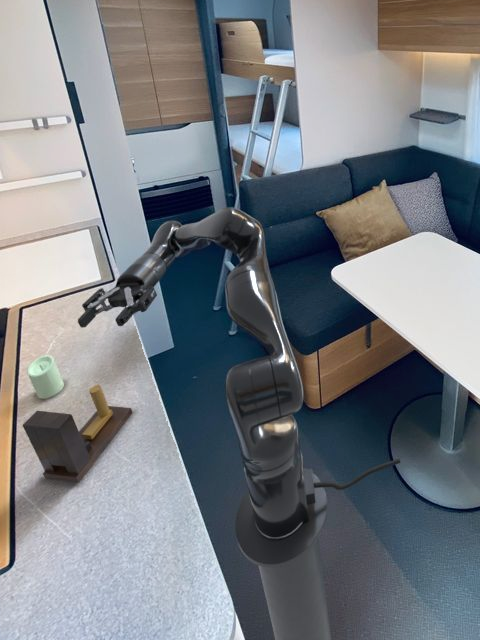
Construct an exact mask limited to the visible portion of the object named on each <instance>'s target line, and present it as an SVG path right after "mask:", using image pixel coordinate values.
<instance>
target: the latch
mask: <svg viewBox="0 0 480 640" xmlns="http://www.w3.org/2000/svg"><path fill="white" fill-rule="evenodd" d="M108 407H109V410H112V411H113V415H112V416H111V417H110V418H109V420H108V421H107V422H106V423H105V424H104V426H103V427H102V428H101V429H100V431H99V432H98V433H97V434H96V435H95V437H94V438H93V439H84V438H83V436H82V434H83V432H84V431H85V430H86V429H87V428H88V427H89V425H90V424H91V423H92V422H93V421H94V420H95V418H96V417H97V416H98V413H97V410H96V411H95V412H94V413H93V415H92V416H91V417H90V418H89V419H88V420H87V421H86V423H85V424H84V425H83V426H82V427H81V428H80V430H79V429H78V426H77V424H76V421H75V418H74V416H73V414H72V413H64V412H54V411H47V410H46V411H45V410H36V411H35V412H34V413H33V414H32V415H31V416H30V417H29V418H28V419H27V420H26V421H25V422H24V423H23V424H22V427H23V430H24V432H25V434H26V436H27V438H28V440H29V442H30V444H31V446H32V448H33V450H34V452H35V454H36V456H37V458H38V460H39V462H40V464H41V466H42V468H43V470H44V471H43V473H42V475H43V478H44V479H45V480H51V481H60V482H68V483H79V484H80V482H81V481H82V479H83V478H84V477H85V475H86V474H87V473H88V471H89V470H90V469H91V468H92V467H93V465H94V464H95V463H96V461H97V460H98V458H99V457H100V456H101V455H102V454H103V452H104V450H105V449H106V448H107V447H108V446H109V444H110V443H111V442H112V440H113V439H114V438H115V437H116V436H117V434H118V433H119V431H120V429H122V428H123V426H124V425H125V424H126V422H127V421H128V420H129V418H130V417H131V415H132V414H133V410H132V407H123V406H113V405H108Z"/></svg>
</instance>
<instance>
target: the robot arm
mask: <svg viewBox="0 0 480 640" xmlns="http://www.w3.org/2000/svg"><path fill="white" fill-rule="evenodd" d="M212 242H213V243H215V244H216V245H218V246H219V247H221V248H223V249H225V250H227V251H229V252H231V253H233V254H234V255H235V256H237V258H238V261H239V263H238V264H237V265H236V266H235V267H233V269H231V271H230V272H229V273H228V275H227V276H226V279H225V281H224V282H225V283H224V296H225V305H226V311H227V315H228V317H229V318H230V319H231V320H232V322H234V324H236V325H237V326H238V327H239V328H240V329H242V330H243V331H244V332H246V333H247V334H248V335H249V336H251V337H253V339H255V340H257V341H258V342H260V343H261V345H262V346H263V347H264V348H265V349H266V350H267V352H268V354H269V355H265V356H262V357H258V358H255V359H251V360H248V361H245V362H241V363H238V364H235V365H233V366H231V367H230V368H229V370H228V371H227V373H226V376H225V382H224V384H225V385H224V387H225V389H224V390H225V398H226V403H227V404H226V405H227V407H228V412H229V415H230V419H231V421H232V424H233V428H234V430H235V434H236V438H237V442H238V447H239V452H240V457H241V462H242V466H243V471H244V476H245V480H246V485H247V490H249V495H250V499H251V504H252V509H253V514H254V520H255V525H256V528H257V530H258V532H259V533H260V534H261V535H262V536H263V537H265V538H266V539H269V540H283V539H286V538H288V537H290V536H291V535H293V534H294V533H295V532H296V531H298V529H299V528H300V527H301V526H302V524H304V523H307V522H309V510H308V507H309V505H310V504H314V503H316V500H315V489H314V488H321V487H324V488H332V489H335V490H337V491H342V490H345V489H348V488H351V487H352V486H354V485H356V484H357V483H359V482H360V481H361V480H363V479H365V478H366V477H368V476H370V475H372V474H375V473H376V472H379V471H382V470H385V469H387V468H390V467H393V466H396V465H399V464H401V458H396V459H393V460H390V461H387V462H384V463H382V464H379V465H376V466H374V467H371V468H370V469H368V470H366V471H364V472H362V473H360V474H359V475H358V476H356V477H355V478H353V479H352V480H350V481H347V482H344V483H342V484H340V483H336V482H334V481H321V482H314V478H313V473H314V471H313V468H312V467H311V468H305V463H304V456H303V455H304V454H303V453H302V449H301V448H302V447H301V442H300V435H299V427H298V424H297V420H296V419H295V417H294V416H293V415H294V414H296V413H298V412H299V411H300V410H301V409H302V407H303V405H304V399H305V395H304V393H305V392H304V386H303V381H302V376H301V373H300V371H299V366H298V363H297V360H296V357H295V355H294V352H293V349H292V346H291V344H290V343H291V342H290V341H289V337H288V335H287V332H286V328H285V326H284V322H283V319H282V314H281V313H282V312H281V309H280V305H279V299H278V295H277V294H278V293H277V290H276V288H275V287H276V286H275V283H274V279H273V276H272V274H271V270H270V266H269V262H268V257H267V250H266V249H267V248H266V240H265V231H264V228H263V225H262V224H261V223H260V221H258V220H257V219H256V218H254V217H252V216H251V215H249V214H247V213H246V212H245V211H242V210H241V209H239V208H236V207H233V206H228V207H224V208H221V209H219V210H217V211H215V212H214V213H212V214H210V215H208V216H206V217H205V218H203V219H201V220H200V221H197V222H192V223H185V224H183V225H182V223H180V221H177V220H167V221H165V222H163V224H161V225H160V226H159V227H158V229H157V230H156V232H155V234H154V236H153V238H152V241H151V243H150V245H149V247H148V248H147V249H146V250H145V251H144V252H143V253H142V254H141V256H139V257H138V258H136V260H134V261H133V262H132V263H131V264H130V265H129V266H128V267H127V269H125V271H123V272H122V273H121V274H120V275H119V276H118V277H117V280H116V282H115V283H116V284H115V286H114V287H113V288H111V289H109V290H104V288H98V290H96V291H95V292H94V293H93V294H92V295H91V296H90V297H89V298H87V299H86V301H84V302H83V303H82V304H81V307H82V308H83V310H84V312H83V313H82V314H81V315H80V316H79V318H78V319H77V324H78V325H79V327H80V328H86V327H88V326H89V324H90V323H91V322H92V321H93V320H94V319H95V318H96V317H97V315H99V314H101V313H103V312H108V311H110V310H112V309H115V308H122V310H121V311H120V312H119V314H118V315H117V316H116V317H115V318H114V319H115V323H116V325H117V326H118V327H124V325H125V324H126V323H128V322H129V320H130V319H131V318H132V317H133V316H134V315H136V314H138V312H141V313H145V312H146V311H147V310H149V307H150V306H151V305H152V303H153V302H154V300H155V299H156V298H157V296H158V294H157V292H156V289H155V286H156V285H157V284H158V283H159V282H160V281H161V279H162V278H163V276H164V274H165V273H166V272H167V270H169V268H170V267H171V266H172V265H173V263H174V261H176V258H182V257H185V256H186V255H188V254H189V253H191V252H192V251H195V250H203V249H204V248H206V247H208V246H210V245H211V243H212ZM106 300H107V302H108V305H107V304H106ZM99 306H101V307H99ZM98 307H99V308H98ZM304 468H305V469H306V470H304Z"/></svg>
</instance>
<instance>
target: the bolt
mask: <svg viewBox="0 0 480 640" xmlns="http://www.w3.org/2000/svg"><path fill="white" fill-rule="evenodd" d="M88 393H89V395H90V397H91V400H92V402H93V405H94V408H95V410H96V411H97V413H98V416H97V417H96V418H95V420H94V421H93V422H92V423H91V424H90V425H89V427H88V428H87V429H86V430H85V431H84V432H83V434H82V436H83V438H84V439H93V438H94V437H95V435H96V434H97V433H98V432H99V431H100V429H101V428H102V427H103V426H104V424H105V423H106V422H107V421H108V420H109V418H110V417H111V416H112V415H113V411H112V410H109V407H108V406H109V405H108V403H107V399H106V396H105V394H104V391H103V388H102V386H101V385H100V384H95V385H93V386H91V387H90V388H89V391H88Z"/></svg>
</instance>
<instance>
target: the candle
mask: <svg viewBox="0 0 480 640" xmlns="http://www.w3.org/2000/svg"><path fill="white" fill-rule="evenodd" d="M26 370H27V375H28V377H29V380H30V382H31V384H32V387H33V389H34V391H35V393H36V395H37V397H38V398H39V399H40V400H41V399H42V400H44V399H50V398H53V397H54V396H56V395H57V394H59V393H60V392H61V391H62V390H63V388H64V387H65V383H64V379H63V378H62V375H61V374H60V371H59V367H58V366H57V363H56V361H55V358H54V356H52V355H49V354H48V355H47V354H46V355H42V356H39V357H38V358H35V360H33V361H32V362H31V363H30V364H29V366H28V368H27V369H26Z"/></svg>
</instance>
